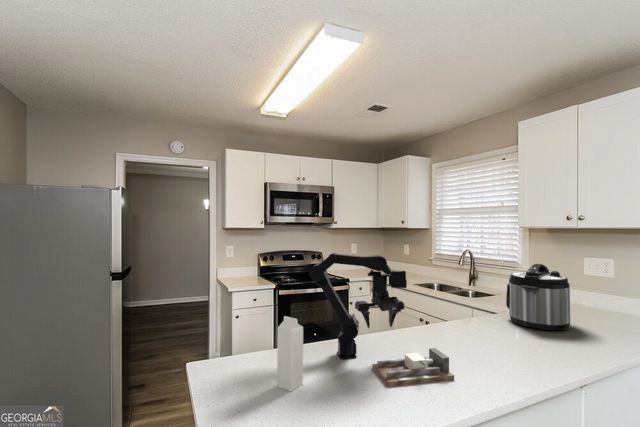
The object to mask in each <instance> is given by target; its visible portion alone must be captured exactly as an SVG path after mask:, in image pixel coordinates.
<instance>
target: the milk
mask: <svg viewBox="0 0 640 427" xmlns="http://www.w3.org/2000/svg"><path fill="white" fill-rule="evenodd" d="M276 352H277V362H276V365H277V369H276V370H277V372H276V373H277V374H276V377H277V378H276V384H277V385H276V386H277V387H278V388H281V389H284V390H285V391H288V392H290V393H291V392H293V391H294V390H296V389H298V388H300V387H301V386H303V385H304V381H303V380H304V326H302V325H301V324H299V323H298V318H295V317H290V316H286V315H284V316H283V321H282V322H281V323H280V324H279V325H278V327H277V351H276Z"/></svg>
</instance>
